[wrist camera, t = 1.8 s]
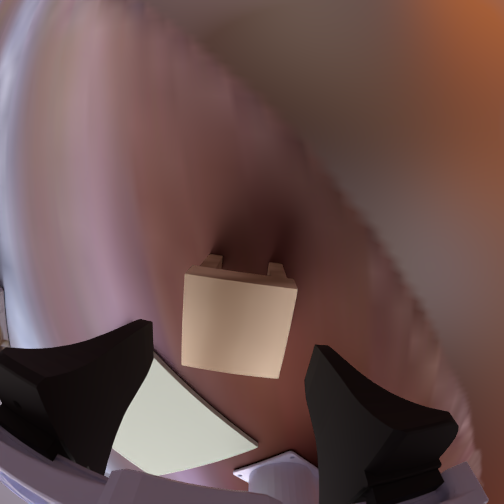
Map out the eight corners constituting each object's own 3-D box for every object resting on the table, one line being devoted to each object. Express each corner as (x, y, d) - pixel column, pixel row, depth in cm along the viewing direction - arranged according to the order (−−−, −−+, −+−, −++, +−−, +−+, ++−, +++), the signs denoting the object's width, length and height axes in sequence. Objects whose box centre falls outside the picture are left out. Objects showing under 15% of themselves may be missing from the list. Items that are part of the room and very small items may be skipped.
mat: (258, 443, 22) (258, 447, 22) (153, 473, 25) (152, 476, 24) (130, 324, 20) (127, 328, 19) (53, 387, 22) (50, 390, 22)
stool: (286, 260, 18) (297, 289, 13) (273, 331, 19) (278, 378, 14) (206, 249, 18) (185, 273, 13) (200, 321, 19) (181, 364, 14)
